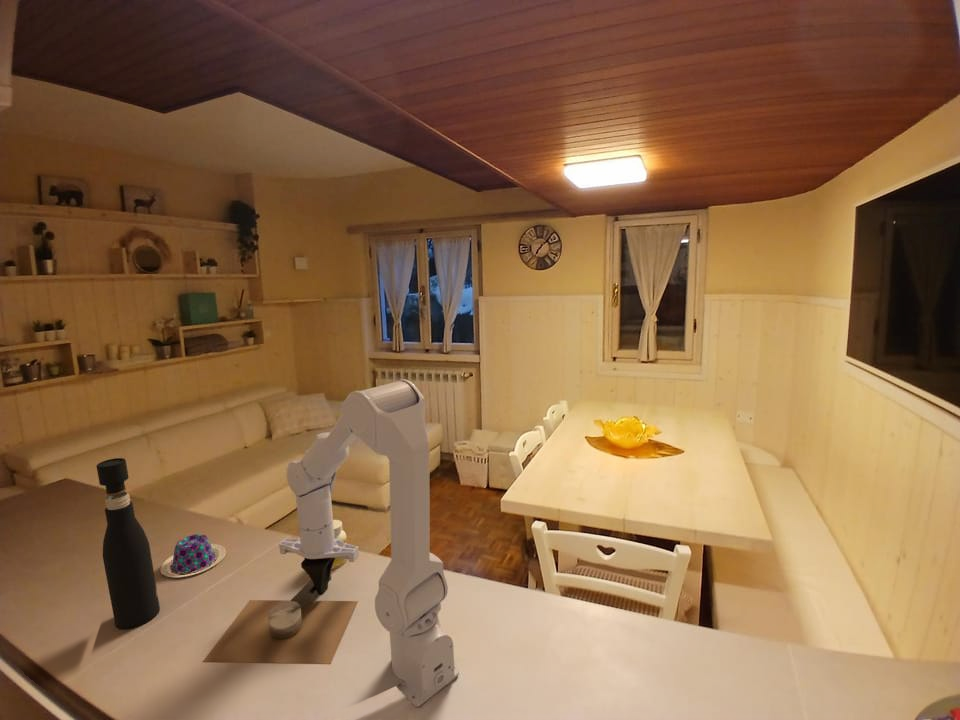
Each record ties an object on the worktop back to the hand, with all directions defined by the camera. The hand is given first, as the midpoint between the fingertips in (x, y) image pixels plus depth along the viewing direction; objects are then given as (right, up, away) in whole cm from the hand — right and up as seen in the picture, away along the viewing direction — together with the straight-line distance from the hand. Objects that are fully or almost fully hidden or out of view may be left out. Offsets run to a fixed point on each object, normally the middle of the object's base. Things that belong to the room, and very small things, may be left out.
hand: (322, 591), depth 87 cm
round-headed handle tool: (-2, -2, -2) cm, 4 cm away
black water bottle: (-31, -5, -3) cm, 32 cm away
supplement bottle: (-1, -1, +12) cm, 12 cm away
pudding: (-32, -2, +16) cm, 36 cm away
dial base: (-4, -4, -7) cm, 9 cm away
